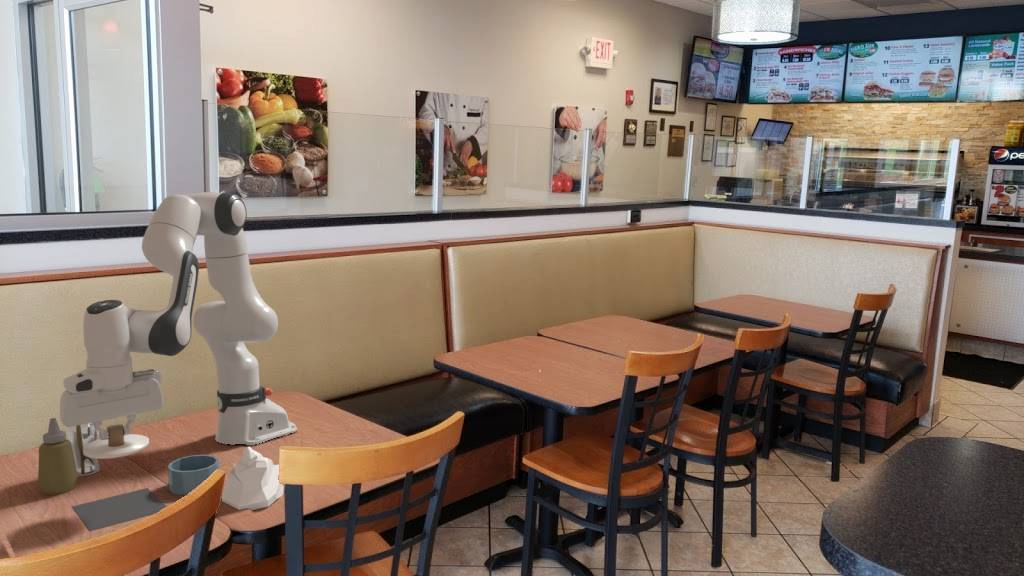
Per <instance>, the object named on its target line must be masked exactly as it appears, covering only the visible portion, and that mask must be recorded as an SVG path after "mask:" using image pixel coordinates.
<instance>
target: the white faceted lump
mask: <svg viewBox="0 0 1024 576" xmlns="http://www.w3.org/2000/svg"><path fill="white" fill-rule="evenodd" d="M278 475H279V464H274V461H273V460H272V459H271V458H268V457H264V456H263V455H262V454H261V453H260V452H258V451H256V450H253V449H252V447H251V446H247V447H245V448H244V451H243V453H242V454H241V457H240V459H239V460H238V461H236V462H235V463H234V464H233V468H232V470H231V471H230V475H229V476H227V480H226V483H225V485H224V487H223V491H222V493H223V494H222V493H221V495H222V501H221V502H222V503H225V504H227V505H229V506H231V507H233V508H234V509H236V510H238V511H240V510H241V511H242V510H246V509H248V510H250V511H256V510H260V509H264V508H269V507H270V506H271V505H273V503H275V502H276V501H277V500H278V499H279V498H280V497H282V496H283V495H284V488H285V485H284V486H283V485H282V484H280V483H279V480H278Z"/></svg>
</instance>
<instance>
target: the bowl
mask: <svg viewBox="0 0 1024 576" xmlns="http://www.w3.org/2000/svg"><path fill="white" fill-rule="evenodd" d="M216 469H220V459H219V458H218V457H217V456H215V455H209V454H195V455H194V454H193V455H188V456H183V457H179V458H177V459H175V460H173V461H171V462H170V463H169V464H168V466H167V472H168V473H167V479H168V491H170V492H171V493H172V494H174V495H178V496H187V495H186V494H188V493H189V492H191V491H192V490H193V489H195V488H196V487H197V486H198V485H200V484H201V483H202V482H203V481H204V480H206V479H207V478H208V477H209V476H210V475H211V474H212V473H213V472H214V471H215V470H216ZM220 470H221V469H220Z"/></svg>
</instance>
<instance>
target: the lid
mask: <svg viewBox="0 0 1024 576" xmlns="http://www.w3.org/2000/svg"><path fill="white" fill-rule="evenodd" d="M123 426H124V425H123V424H111V425H109V426H107V427H106V430H107V431H108V433H109V435H108V436H109V439H106V440H100V438H99V439H98V440H95V441H93V442H91V443H89V444H87V445H86V446H85V447H84V448H83V454H84V455H85V456H86V457H89V458H95V459H98V460H100V459H101V460H105V459H106V460H107V459H116V458H121V457H126V456H130V455H133V454H137V453H140V452H141V451H143V450H145V449H147V448H148V447H149V445H150V438H149V437H148V436H145V435H142V434H135V433H134V434H133V433H131V434H130V435H125V436H124V430H123Z"/></svg>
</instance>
